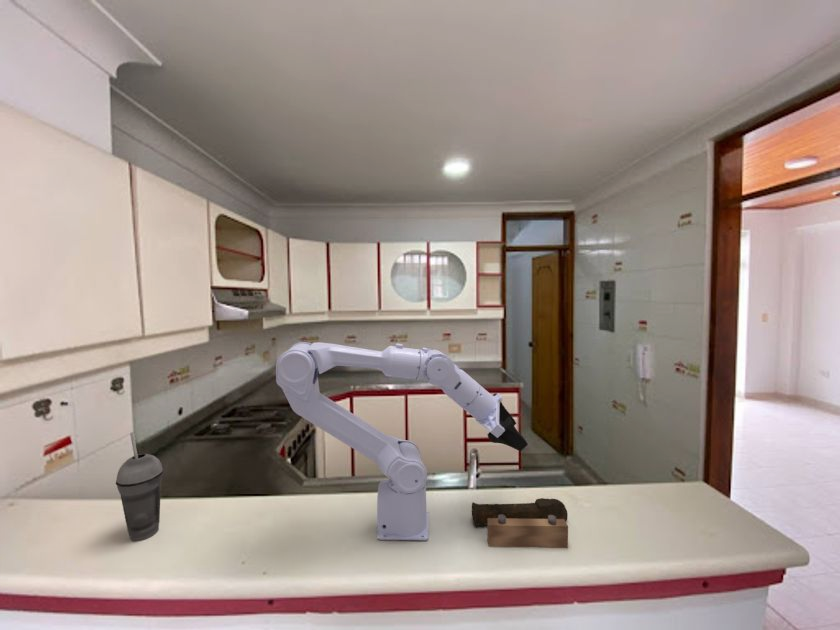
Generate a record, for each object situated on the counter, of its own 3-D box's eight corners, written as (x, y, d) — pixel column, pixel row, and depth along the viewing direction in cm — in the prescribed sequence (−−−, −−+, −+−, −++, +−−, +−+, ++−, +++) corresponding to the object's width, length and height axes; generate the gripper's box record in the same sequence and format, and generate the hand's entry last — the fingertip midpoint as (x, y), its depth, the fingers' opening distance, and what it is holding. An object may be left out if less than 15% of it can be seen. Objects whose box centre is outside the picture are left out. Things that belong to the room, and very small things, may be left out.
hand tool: (472, 530, 69) (473, 507, 69) (470, 517, 73) (470, 495, 73) (572, 532, 69) (572, 508, 68) (564, 518, 73) (565, 496, 72)
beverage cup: (143, 548, 65) (135, 442, 64) (109, 544, 67) (101, 439, 65) (176, 523, 72) (170, 426, 71) (145, 519, 74) (138, 424, 72)
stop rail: (488, 546, 65) (488, 519, 64) (487, 538, 67) (487, 513, 66) (567, 547, 64) (568, 520, 64) (563, 539, 66) (564, 513, 66)
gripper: (492, 397, 63) (545, 443, 65) (477, 367, 77) (521, 405, 79) (464, 425, 64) (517, 468, 66) (454, 390, 78) (498, 426, 80)
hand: (517, 435), depth 73 cm, fingers open, 7 cm apart
